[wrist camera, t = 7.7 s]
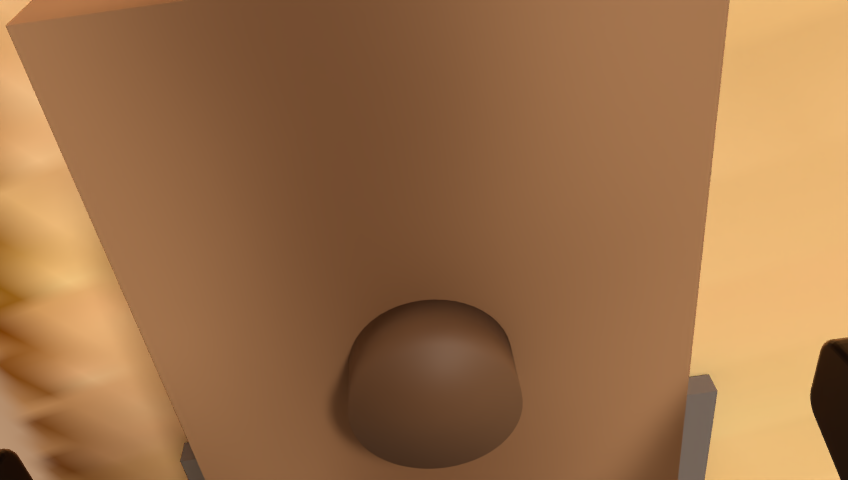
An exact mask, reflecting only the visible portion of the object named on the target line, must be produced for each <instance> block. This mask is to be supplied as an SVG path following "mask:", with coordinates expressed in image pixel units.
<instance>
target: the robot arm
mask: <svg viewBox="0 0 848 480" xmlns="http://www.w3.org/2000/svg"><path fill="white" fill-rule="evenodd" d="M810 399H811V406H812V410H813V413H814V416H815V418H816V421H817V423H818V426H819V428H820V430H821V433H822V435H823V438H824V440H825V443H826V445H827V447H828V450H829V452H830V455H831V457H832V460H833V462H834V465H835V467H836V469H837V472H838V474H839V477H840V479H841V480H848V337H847V338H840V339H832V340H829V341H827V342H826V343H825V344H824V345H823V346H822V348H821V351H820V355H819V359H818V363H817V367H816V371H815V375H814V379H813V383H812V387H811V394H810ZM0 480H33V479H32V477H31V476H30V474H29V473H28V471H27V469H26V468H25V466H24V465H23V463H22V461H21V460H20V458H19V457H18V455H17V454H16V453H15V452H13V451H11V450H10V449H0Z"/></svg>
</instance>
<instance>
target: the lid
mask: <svg viewBox="0 0 848 480" xmlns="http://www.w3.org/2000/svg"><path fill="white" fill-rule="evenodd" d="M728 9H729V0H32V1H31V2H30V3H29V4H28V5H27V6H26V7H25V8H24V9H23V10H22V11H20V12H19V13H18V14H17V15H16V16H15V17H14V18H13V19H12V20H11V21H10V22H9V23H8V24H7V25H6V28H7V30H8V32H9V35H10V37H11V39H12V41H13V44H14V46H15V48H16V50H17V53H18V55H19V57H20V60H21V62H22V64H23V66H24V69H25V71H26V73H27V75H28V78H29V80H30V82H31V85H32V87H33V89H34V91H35V94H36V96H37V98H38V101H39V103H40V105H41V107H42V110H43V112H44V114H45V116H46V119H47V121H48V123H49V126H50V128H51V130H52V132H53V135H54V137H55V139H56V141H57V144H58V146H59V148H60V151H61V153H62V155H63V157H64V160H65V162H66V164H67V167H68V169H69V171H70V173H71V176H72V178H73V180H74V182H75V185H76V187H77V189H78V192H79V194H80V196H81V198H82V201H83V203H84V205H85V207H86V210H87V212H88V214H89V217H90V219H91V221H92V223H93V226H94V228H95V230H96V233H97V235H98V237H99V239H100V242H101V244H102V246H103V248H104V251H105V253H106V255H107V258H108V260H109V262H110V264H111V267H112V269H113V271H114V273H115V276H116V278H117V280H118V283H119V285H120V287H121V289H122V292H123V294H124V296H125V299H126V301H127V303H128V305H129V308H130V310H131V312H132V314H133V317H134V319H135V321H136V324H137V326H138V328H139V330H140V333H141V335H142V337H143V339H144V342H145V344H146V346H147V349H148V351H149V353H150V355H151V358H152V360H153V362H154V365H155V367H156V369H157V371H158V374H159V376H160V378H161V380H162V383H163V385H164V387H165V390H166V392H167V394H168V396H169V399H170V401H171V403H172V405H173V408H174V410H175V412H176V415H177V417H178V419H179V421H180V424H181V426H182V428H183V431H184V433H185V435H186V437H187V440H188V442H189V444H190V446H191V449H192V451H193V453H194V456H195V458H196V460H197V462H198V465H199V467H200V469H201V471H202V474H203V476H204V478H205V480H678V474H679V465H680V456H681V446H682V437H683V428H684V419H685V409H686V400H687V391H688V381H689V372H690V363H691V353H692V344H693V335H694V325H695V316H696V307H697V298H698V288H699V279H700V270H701V260H702V251H703V242H704V232H705V223H706V214H707V204H708V195H709V186H710V176H711V167H712V158H713V149H714V139H715V130H716V121H717V111H718V102H719V93H720V83H721V74H722V65H723V55H724V46H725V37H726V27H727V18H728Z"/></svg>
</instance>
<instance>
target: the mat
mask: <svg viewBox="0 0 848 480" xmlns="http://www.w3.org/2000/svg"><path fill="white" fill-rule="evenodd" d="M716 397H717V389H716V387H715V386H714V384H713V382H712V380H711V378H710V376H709V375H702V376H694V377H689V381H688V391H687V400H686V409H685V419H684V428H683V437H682V446H681V456H680V465H679V474H678V480H705V473H706V466H707V459H708V452H709V445H710V438H711V431H712V425H713V418H714V411H715V404H716ZM180 462H181V464H182V466H183V468H184V470H185V473H186V475H187V477H188V479H189V480H205V478H204V476H203V474H202V471H201V469H200V467H199V465H198V462H197V460H196V458H195V456H194V453H193V451H192V449H191V446H190V444H189V442H188V443H184V447H183V452H182V456H181V460H180Z"/></svg>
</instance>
